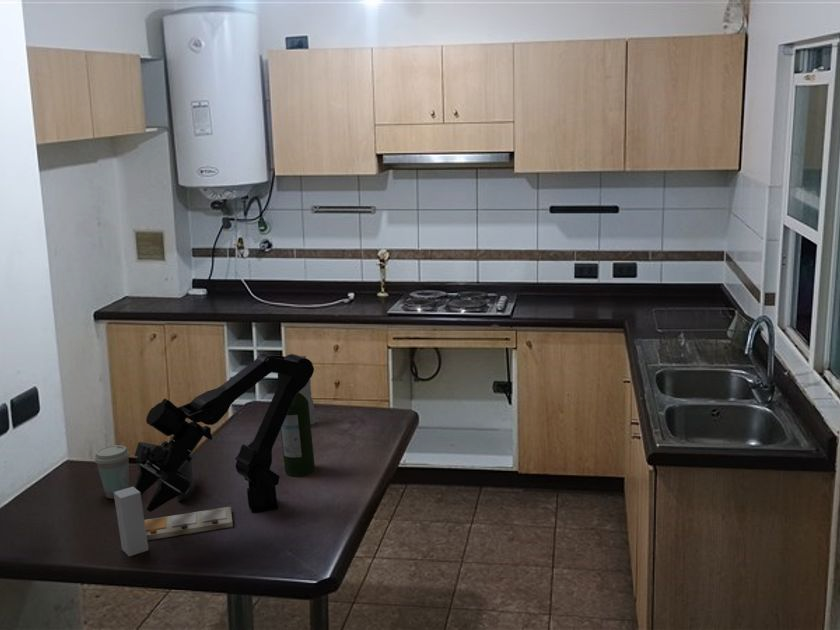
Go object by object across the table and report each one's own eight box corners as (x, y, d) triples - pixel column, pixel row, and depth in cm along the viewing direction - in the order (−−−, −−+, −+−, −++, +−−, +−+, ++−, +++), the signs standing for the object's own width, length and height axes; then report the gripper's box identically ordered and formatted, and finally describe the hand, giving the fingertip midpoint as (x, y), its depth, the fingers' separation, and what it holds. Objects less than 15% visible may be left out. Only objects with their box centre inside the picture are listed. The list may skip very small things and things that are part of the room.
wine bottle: (317, 464, 263) (307, 357, 256) (311, 476, 255) (300, 366, 248) (288, 465, 264) (277, 359, 257) (282, 477, 256) (270, 367, 249)
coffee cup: (124, 501, 248) (118, 457, 245) (94, 500, 249) (87, 456, 247) (140, 487, 256) (134, 444, 253) (110, 486, 258) (104, 444, 255)
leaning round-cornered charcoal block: (196, 500, 245) (191, 465, 243) (177, 503, 244) (172, 468, 242) (194, 476, 261) (189, 443, 258) (176, 479, 260) (172, 446, 257)
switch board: (231, 511, 238) (230, 504, 237) (232, 526, 229) (232, 519, 229) (137, 525, 233) (136, 518, 233) (136, 542, 224) (135, 534, 224)
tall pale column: (286, 432, 290) (278, 361, 284) (281, 428, 293) (273, 358, 288) (319, 424, 294) (312, 354, 289) (313, 420, 298) (307, 351, 293)
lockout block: (141, 543, 224) (133, 486, 220) (148, 549, 220) (140, 492, 217) (122, 549, 221) (113, 492, 218) (129, 556, 218) (120, 498, 214)
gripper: (139, 418, 226) (98, 476, 223) (170, 438, 212) (127, 500, 208) (175, 441, 233) (136, 498, 229) (208, 463, 218) (167, 523, 214)
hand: (140, 504), depth 220 cm, fingers open, 9 cm apart
